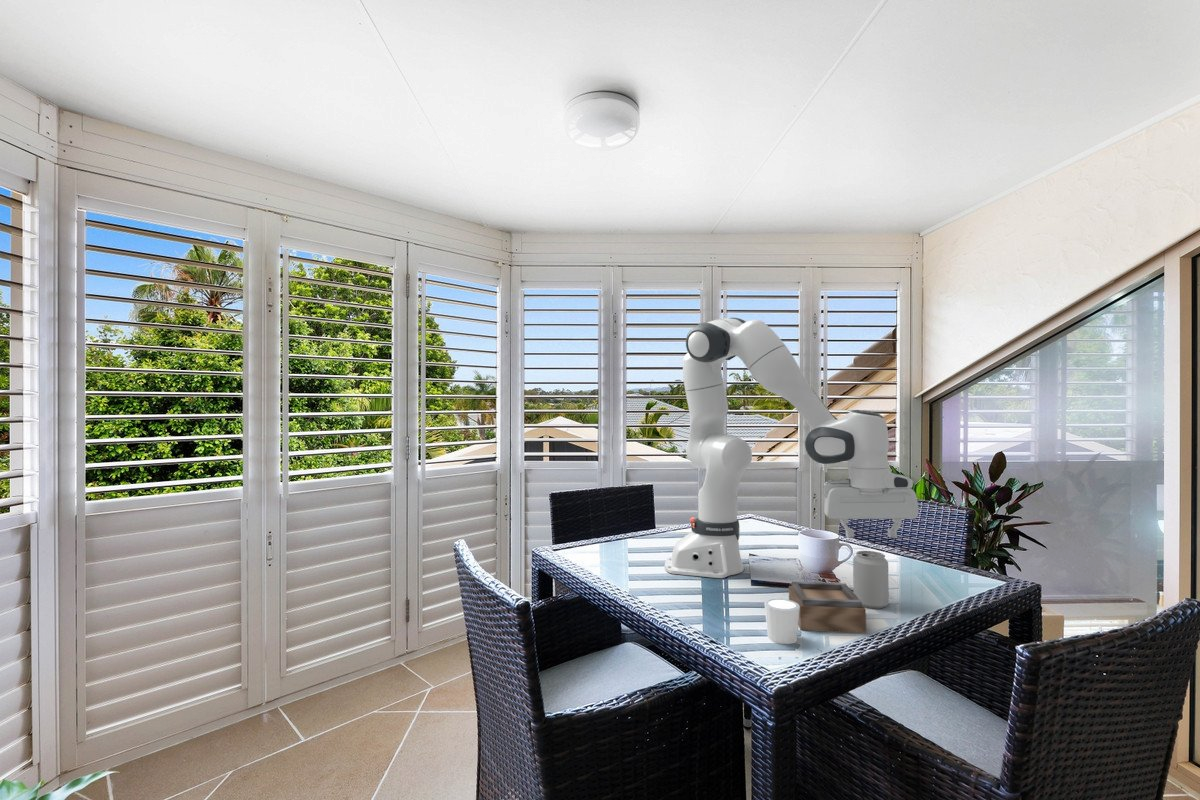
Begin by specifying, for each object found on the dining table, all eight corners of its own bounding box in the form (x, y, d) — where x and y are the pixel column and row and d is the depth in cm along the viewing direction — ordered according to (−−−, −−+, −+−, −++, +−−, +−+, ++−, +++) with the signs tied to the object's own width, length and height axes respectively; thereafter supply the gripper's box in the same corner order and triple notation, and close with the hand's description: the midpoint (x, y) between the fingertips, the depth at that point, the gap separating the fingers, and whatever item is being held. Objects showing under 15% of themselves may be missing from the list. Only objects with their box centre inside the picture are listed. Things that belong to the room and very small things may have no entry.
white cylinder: (759, 631, 117) (759, 598, 117) (791, 630, 117) (790, 597, 117) (772, 646, 110) (772, 610, 110) (806, 644, 110) (805, 609, 110)
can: (860, 596, 137) (860, 547, 137) (893, 603, 132) (892, 553, 132) (848, 604, 132) (847, 553, 132) (882, 612, 127) (881, 559, 127)
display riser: (800, 629, 117) (800, 600, 117) (789, 607, 130) (788, 580, 130) (865, 633, 115) (865, 603, 115) (847, 609, 128) (847, 582, 128)
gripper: (826, 481, 130) (828, 540, 130) (920, 480, 127) (922, 540, 127) (819, 477, 136) (821, 533, 136) (909, 476, 133) (911, 533, 133)
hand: (871, 537), depth 131 cm, fingers open, 8 cm apart
